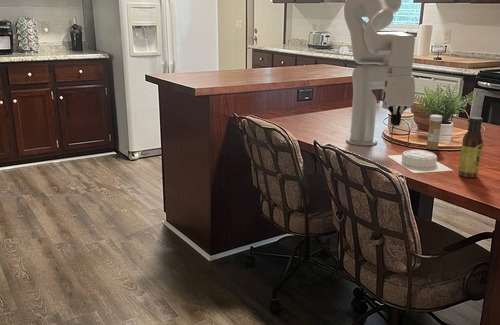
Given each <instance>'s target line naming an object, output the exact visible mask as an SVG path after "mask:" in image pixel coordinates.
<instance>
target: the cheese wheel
mask: <svg viewBox="0 0 500 325" xmlns="http://www.w3.org/2000/svg"><path fill="white" fill-rule="evenodd" d="M401 153H402V154H401V155H402V162H403V163H404V164H406V165H410V166H412V167H421V168H424V167H425V168H428V167H433V166H435V165H436V162H438V161H437V160H438V156H437V154H435V152H432V151H429V150H424V149H423V150H422V149H409V150H405V151H403V152H401Z"/></svg>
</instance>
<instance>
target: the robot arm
mask: <svg viewBox="0 0 500 325" xmlns="http://www.w3.org/2000/svg"><path fill="white" fill-rule="evenodd" d="M401 6H402V0H345V2H344V6H343V15H344V19H345V20H344V21H345V22H346V23H345V24H346V26H347V29H348V31H349V34H350V41H351V42H350V44H351V48H352V49H351V50H352V56H353V59H354V61H355V63H356V64H360V65H359V66H356V67H355V68H354V69H353V71H352V76H351V82H352V108H351V109H352V111H351V122H350V123H351V124H350V130H349V131H350V135H349V136H347V137H346V140H345V141H346V142H347V143H348V144H351V145H355V146H362V147H364V146H365V147H366V146H374V145H377V143H378V139H377V138H376V137H375V128H376V127H375V125H376V115H377V106H378V105H377V104H378V102H377V97H376V95H375V94H374V92H373V91H372V90H382V96H381V101H382V102H381V103H382V105H381V108H382V109H385V110H388V111H389V113H390V125H392V126H394V127H399V126H401V121H402V115H403V114H404V113H405V111H406V110H408V109H411V108H412V107H413V104H415V98H416V96H415V95H416V94H415V92H416V91H415V90H416V87H415V86H416V85H415V84H416V83H415V76H414V75H413V64H414V56H415V55H414V52H415V44H416V38H415V37H416V36H415V35H413V34H411V33H406V32H401V31H400V32H396V31H395V32H393V31H391V32H389V31H388V32H386V31H382V32H380V31H381V30H384V29H385V28H387V27H389V26H390V25H391V24H392V22H393V20H394V14H396V12H398V11H399V10H400V9H401ZM363 18H367V19H368V21H367V22H366V20H364V19H363Z"/></svg>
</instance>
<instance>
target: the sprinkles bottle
mask: <svg viewBox="0 0 500 325" xmlns="http://www.w3.org/2000/svg"><path fill="white" fill-rule="evenodd" d="M442 121H443V116H442V115H440V114H431V115H430V116H429V128H428V134H427V142H426V146H425V148H426V149H428V150H432V151H433V150H435V151H436V150H438V149H439V142H440V137H441V136H440V135H441V129H442V128H441V125H442Z"/></svg>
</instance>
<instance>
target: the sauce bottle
mask: <svg viewBox="0 0 500 325" xmlns="http://www.w3.org/2000/svg"><path fill="white" fill-rule="evenodd" d="M483 120H484V119H483V118H482V117H480V116H470V117H468V127H467V132H466V133H464V135H463V137H462V145H461V149H460V153H459V154H460V156H459V164H458V175H459V176H460V177H462V178H469V179H473V178H476V177H478V174H479V170H480V164H481V158H482V151H483V146H484V140H483V136H482V132H481V131H482V130H481V129H482V124H483Z"/></svg>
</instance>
